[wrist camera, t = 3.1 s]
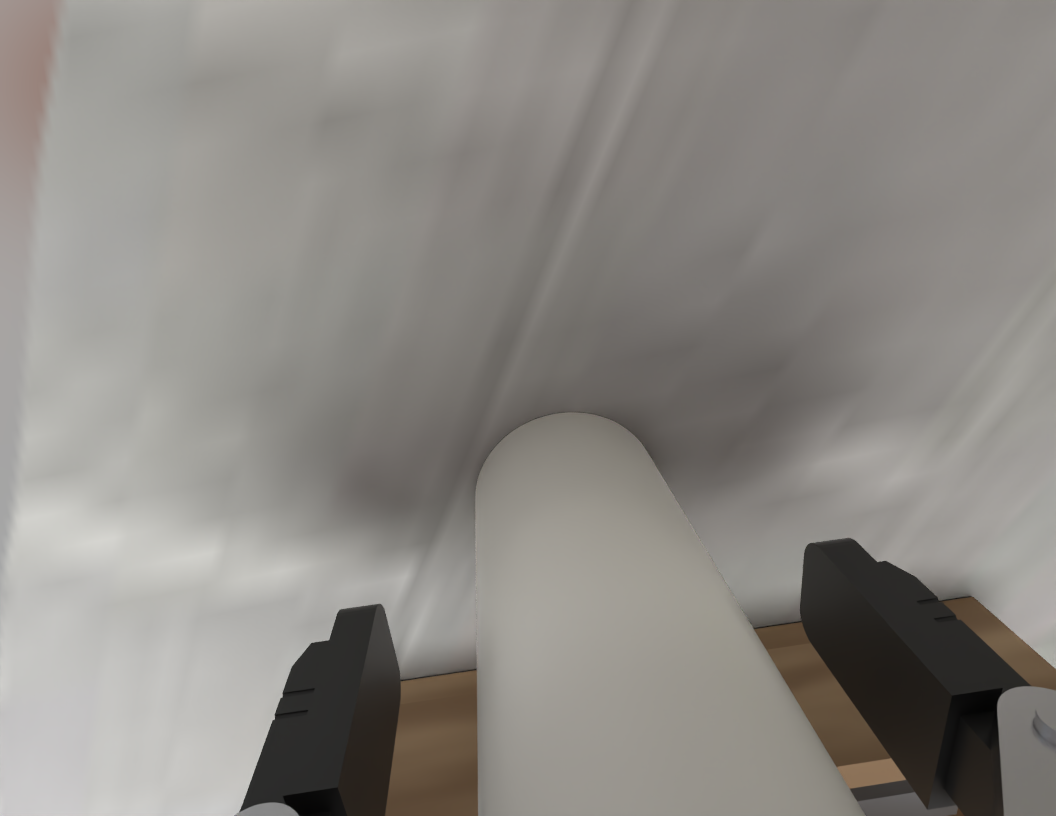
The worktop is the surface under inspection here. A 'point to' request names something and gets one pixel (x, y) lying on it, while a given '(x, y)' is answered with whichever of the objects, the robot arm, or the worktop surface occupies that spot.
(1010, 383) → the worktop surface
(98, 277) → the worktop surface
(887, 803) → the caddy
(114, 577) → the worktop surface
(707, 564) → the bottle
